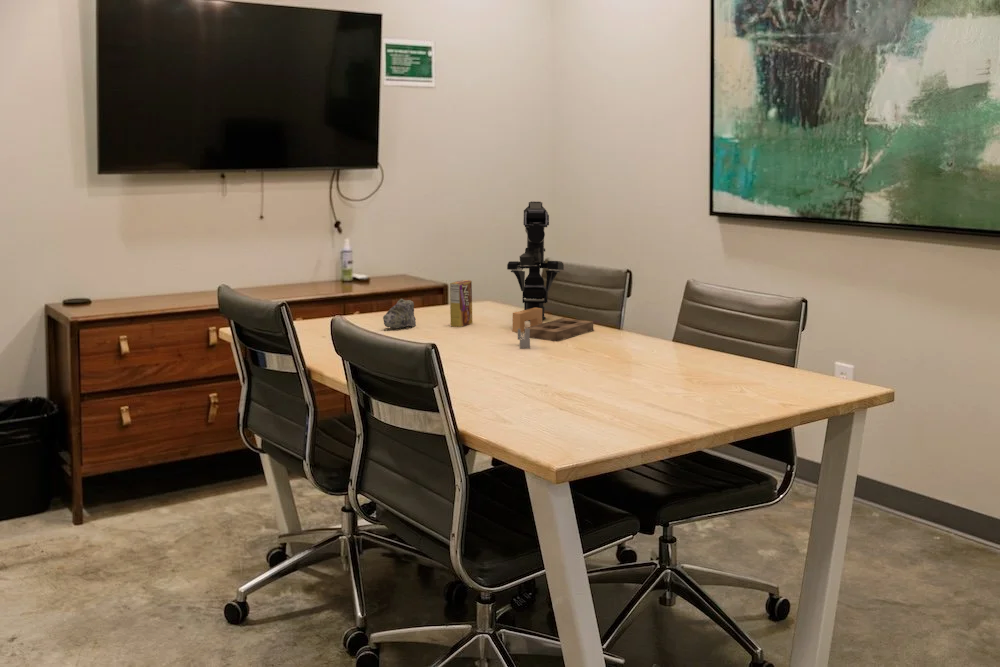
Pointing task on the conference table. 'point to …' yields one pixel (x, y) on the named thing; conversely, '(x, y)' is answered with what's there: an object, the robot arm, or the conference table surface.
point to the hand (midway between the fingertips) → (534, 291)
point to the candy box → (461, 303)
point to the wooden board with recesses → (560, 329)
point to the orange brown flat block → (526, 318)
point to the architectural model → (524, 338)
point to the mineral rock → (400, 315)
